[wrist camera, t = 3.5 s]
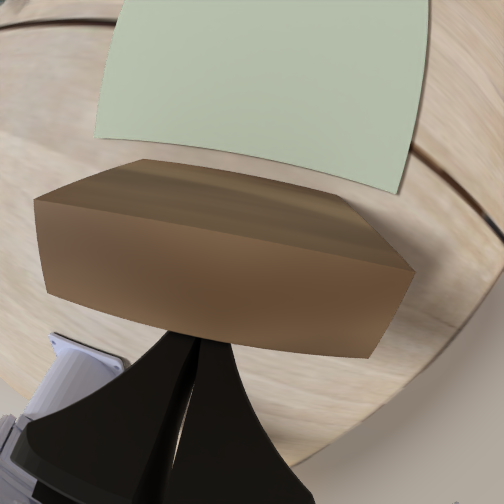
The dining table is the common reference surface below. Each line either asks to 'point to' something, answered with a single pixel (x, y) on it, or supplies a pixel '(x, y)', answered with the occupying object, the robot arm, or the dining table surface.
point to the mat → (271, 80)
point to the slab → (221, 258)
